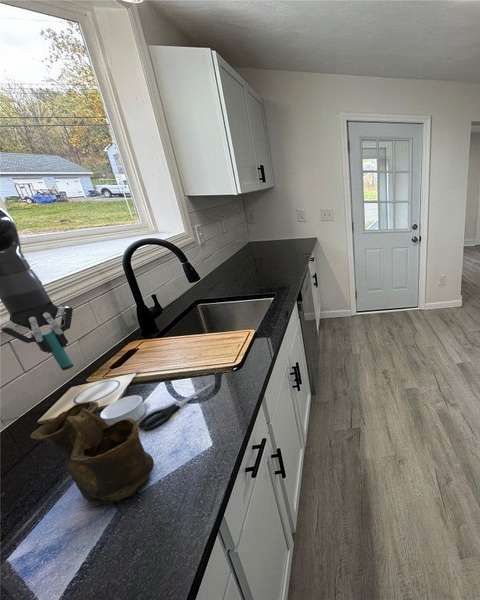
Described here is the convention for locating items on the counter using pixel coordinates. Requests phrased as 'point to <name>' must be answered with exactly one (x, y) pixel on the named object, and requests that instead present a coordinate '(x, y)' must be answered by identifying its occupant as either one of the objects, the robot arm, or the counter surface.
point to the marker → (57, 350)
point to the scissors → (166, 412)
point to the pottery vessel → (99, 453)
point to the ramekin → (124, 410)
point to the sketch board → (90, 395)
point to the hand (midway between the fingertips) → (56, 349)
